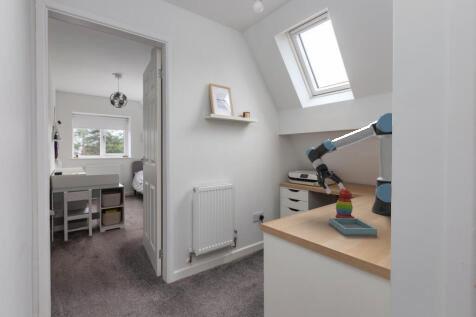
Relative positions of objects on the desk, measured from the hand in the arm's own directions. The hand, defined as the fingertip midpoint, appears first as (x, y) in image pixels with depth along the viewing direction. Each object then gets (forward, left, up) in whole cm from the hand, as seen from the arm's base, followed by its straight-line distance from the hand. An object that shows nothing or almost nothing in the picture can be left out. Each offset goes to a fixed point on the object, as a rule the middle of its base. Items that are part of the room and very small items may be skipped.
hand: (337, 192), depth 146 cm
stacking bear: (-3, +4, -15) cm, 16 cm away
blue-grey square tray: (+4, +25, -15) cm, 30 cm away
